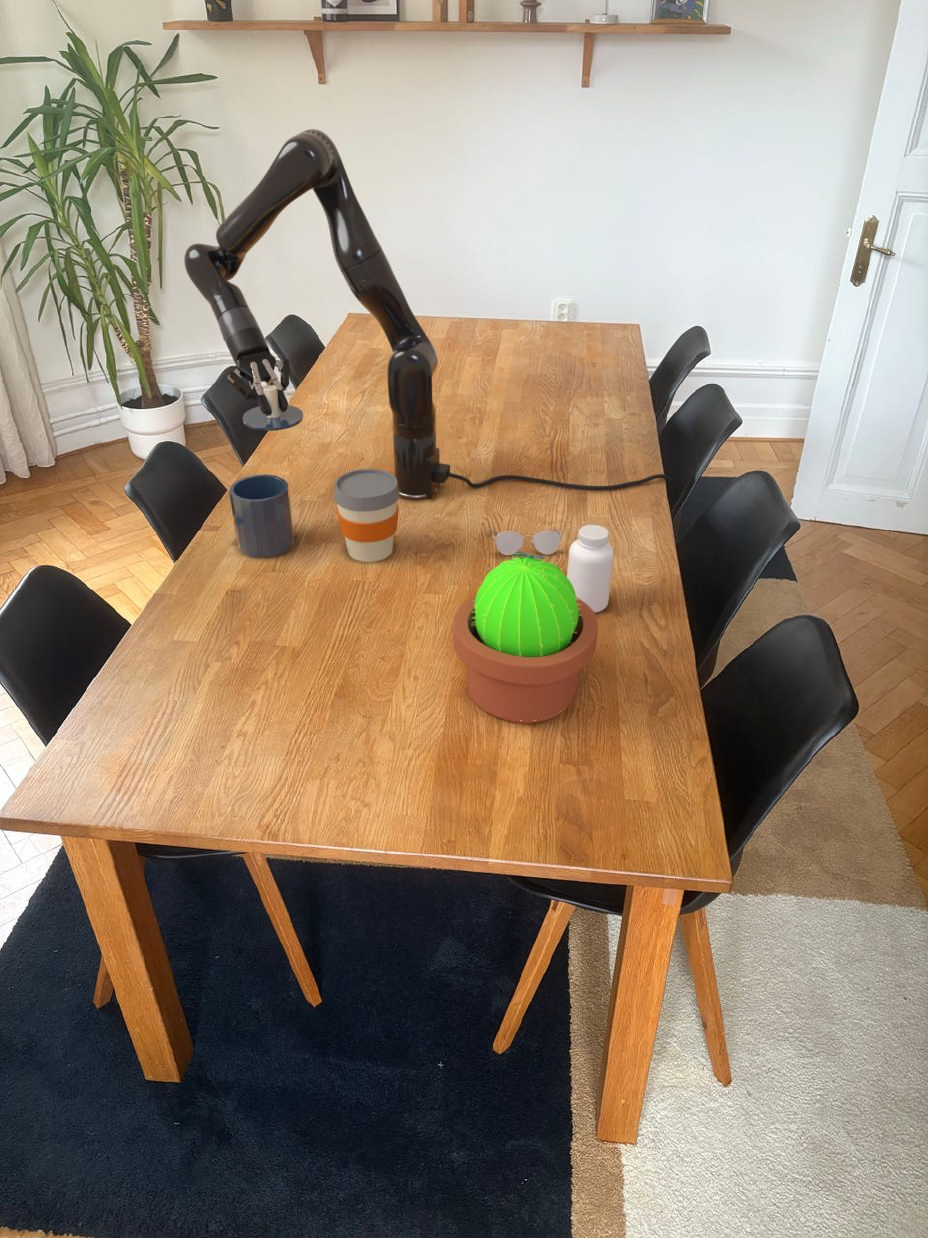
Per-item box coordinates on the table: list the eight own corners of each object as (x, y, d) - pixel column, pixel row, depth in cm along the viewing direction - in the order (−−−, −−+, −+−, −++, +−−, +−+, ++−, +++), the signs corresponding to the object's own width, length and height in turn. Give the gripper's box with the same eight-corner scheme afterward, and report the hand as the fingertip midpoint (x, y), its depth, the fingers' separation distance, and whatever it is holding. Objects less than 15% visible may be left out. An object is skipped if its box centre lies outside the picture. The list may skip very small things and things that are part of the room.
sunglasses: (492, 555, 188) (493, 531, 186) (490, 540, 196) (490, 517, 193) (562, 554, 189) (563, 530, 186) (556, 538, 196) (557, 516, 194)
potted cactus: (550, 753, 142) (561, 617, 127) (428, 702, 151) (425, 570, 137) (612, 676, 157) (628, 546, 143) (497, 634, 166) (502, 508, 152)
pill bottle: (612, 595, 177) (620, 524, 168) (603, 618, 171) (611, 546, 162) (570, 587, 179) (576, 517, 170) (560, 610, 173) (565, 538, 164)
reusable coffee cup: (412, 542, 192) (410, 475, 183) (382, 572, 183) (378, 503, 174) (358, 529, 196) (354, 463, 188) (326, 558, 187) (320, 490, 178)
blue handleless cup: (303, 534, 195) (297, 479, 187) (278, 561, 186) (271, 504, 179) (254, 525, 197) (246, 471, 190) (228, 552, 189) (218, 496, 181)
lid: (313, 413, 197) (310, 380, 193) (287, 437, 188) (283, 402, 184) (260, 406, 200) (256, 373, 196) (232, 428, 191) (227, 394, 186)
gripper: (214, 332, 185) (249, 412, 184) (278, 319, 192) (313, 395, 191) (206, 351, 192) (241, 428, 191) (269, 338, 199) (302, 412, 198)
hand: (277, 411), depth 191 cm, fingers closed on lid, 3 cm apart
